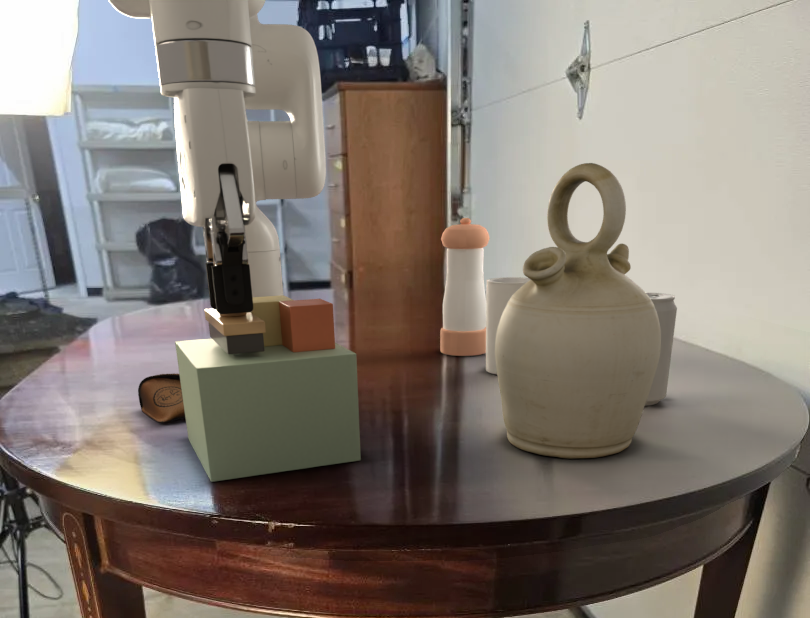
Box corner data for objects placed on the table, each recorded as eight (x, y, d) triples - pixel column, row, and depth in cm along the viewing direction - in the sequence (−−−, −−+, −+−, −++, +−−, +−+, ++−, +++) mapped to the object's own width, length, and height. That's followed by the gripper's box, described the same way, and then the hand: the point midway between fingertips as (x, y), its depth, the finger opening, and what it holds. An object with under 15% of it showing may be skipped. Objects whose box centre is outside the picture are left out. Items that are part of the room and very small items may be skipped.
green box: (186, 435, 81) (172, 338, 77) (314, 419, 86) (308, 327, 82) (211, 482, 68) (196, 368, 64) (361, 460, 73) (356, 353, 69)
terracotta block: (282, 345, 73) (278, 301, 71) (322, 341, 74) (320, 298, 72) (293, 352, 69) (289, 306, 68) (335, 348, 71) (333, 303, 69)
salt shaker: (497, 352, 119) (501, 217, 111) (459, 358, 115) (461, 219, 107) (467, 345, 124) (469, 216, 116) (431, 350, 121) (430, 218, 113)
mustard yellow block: (247, 340, 75) (242, 298, 74) (287, 337, 77) (283, 295, 75) (256, 347, 72) (251, 303, 70) (297, 343, 73) (294, 299, 72)
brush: (207, 336, 75) (196, 241, 71) (244, 333, 76) (235, 240, 72) (226, 355, 66) (214, 248, 63) (267, 351, 67) (258, 246, 64)
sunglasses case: (161, 422, 84) (143, 363, 84) (149, 440, 90) (133, 386, 90) (309, 397, 93) (293, 345, 93) (289, 415, 99) (274, 366, 99)
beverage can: (666, 395, 93) (679, 291, 88) (664, 409, 87) (677, 299, 82) (612, 392, 95) (621, 290, 90) (606, 405, 89) (616, 297, 84)
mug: (502, 378, 103) (506, 284, 98) (474, 369, 108) (476, 279, 103) (561, 369, 107) (568, 278, 102) (532, 361, 112) (536, 274, 107)
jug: (546, 475, 68) (567, 159, 58) (465, 430, 81) (469, 166, 71) (683, 451, 74) (724, 159, 63) (586, 413, 86) (607, 165, 76)
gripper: (149, 85, 68) (178, 302, 75) (170, 58, 54) (203, 326, 62) (234, 87, 70) (254, 297, 78) (275, 62, 57) (294, 319, 64)
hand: (231, 308), depth 70 cm, fingers closed on brush, 2 cm apart
